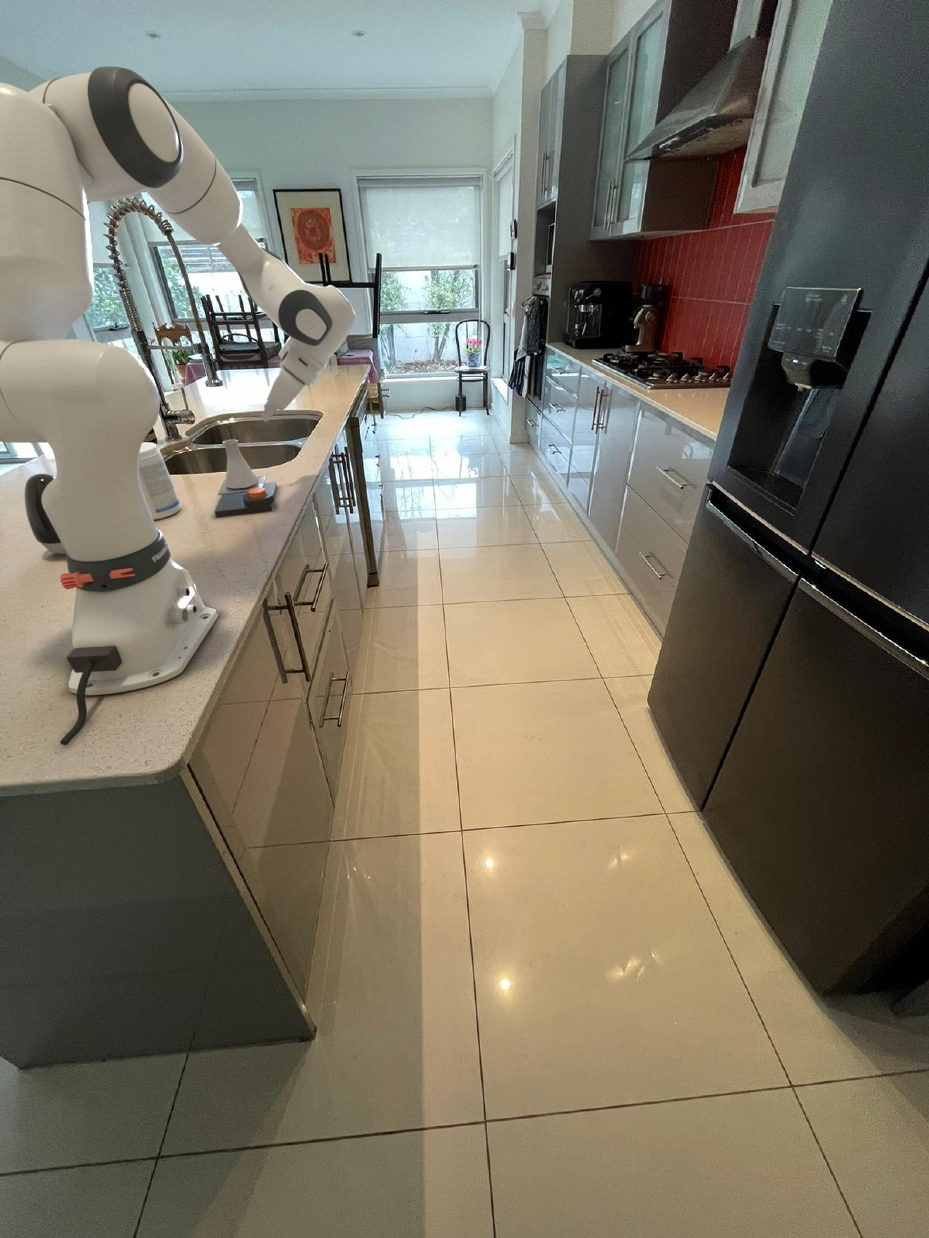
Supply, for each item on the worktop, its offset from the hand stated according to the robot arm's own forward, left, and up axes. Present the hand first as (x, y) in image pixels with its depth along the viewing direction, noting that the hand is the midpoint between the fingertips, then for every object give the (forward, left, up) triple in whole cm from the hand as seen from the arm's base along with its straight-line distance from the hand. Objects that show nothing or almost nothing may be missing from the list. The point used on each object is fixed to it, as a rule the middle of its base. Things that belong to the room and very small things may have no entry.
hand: (265, 414), depth 115 cm
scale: (-3, +8, -18) cm, 20 cm away
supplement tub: (-4, +28, -19) cm, 34 cm away
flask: (0, +9, -15) cm, 18 cm away
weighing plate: (0, +9, -15) cm, 18 cm away
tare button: (-8, +5, -16) cm, 18 cm away
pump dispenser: (-19, +40, -19) cm, 48 cm away
